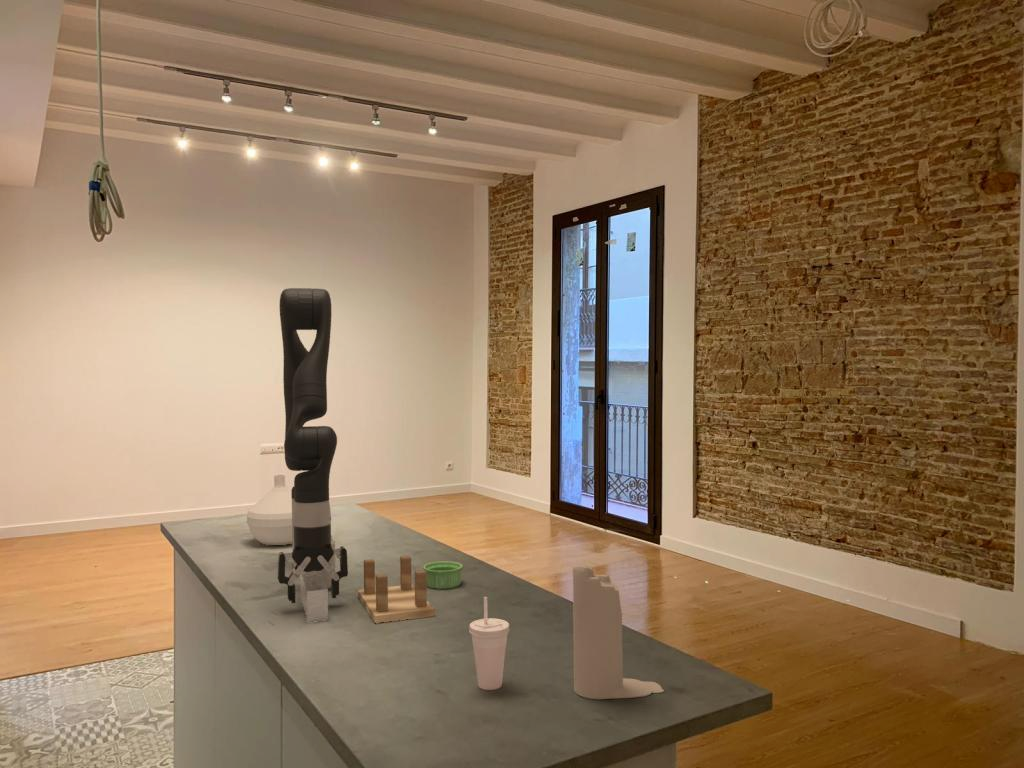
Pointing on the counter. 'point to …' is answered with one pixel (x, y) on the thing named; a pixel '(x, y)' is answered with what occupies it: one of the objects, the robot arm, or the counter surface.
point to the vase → (273, 515)
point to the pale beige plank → (314, 596)
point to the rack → (395, 594)
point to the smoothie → (489, 649)
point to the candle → (600, 640)
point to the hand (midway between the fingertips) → (313, 599)
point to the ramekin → (443, 574)
